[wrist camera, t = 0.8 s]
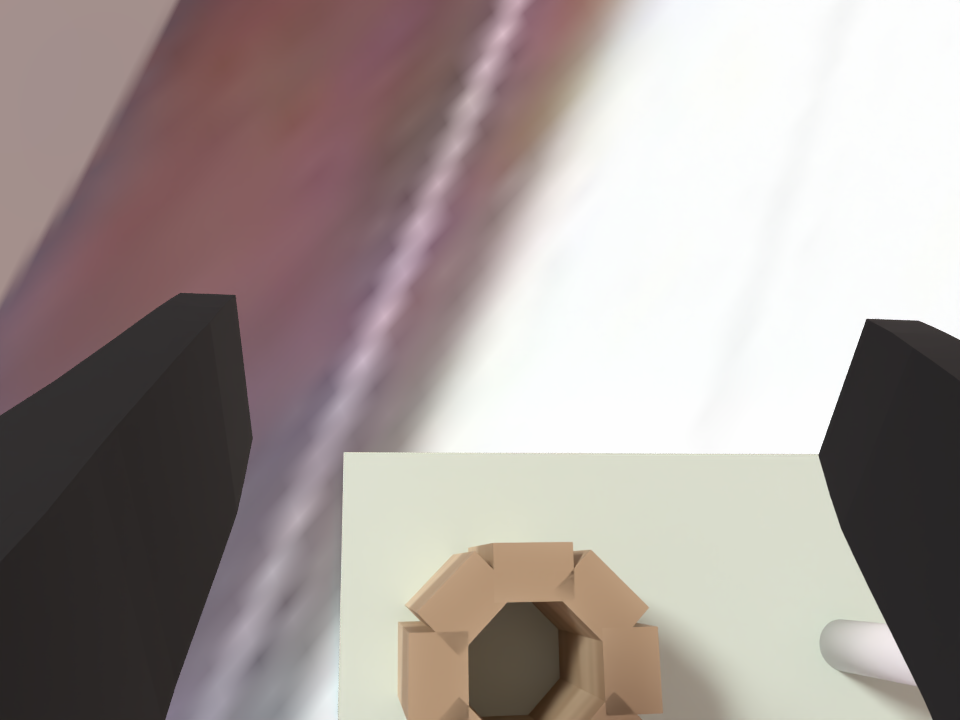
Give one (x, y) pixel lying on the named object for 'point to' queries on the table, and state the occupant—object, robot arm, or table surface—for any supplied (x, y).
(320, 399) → the table surface
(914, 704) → the board
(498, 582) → the bead
